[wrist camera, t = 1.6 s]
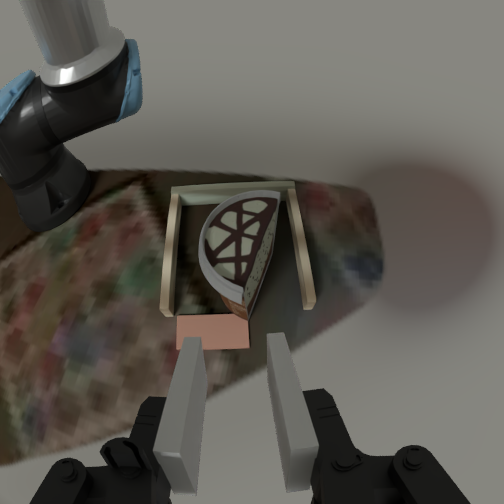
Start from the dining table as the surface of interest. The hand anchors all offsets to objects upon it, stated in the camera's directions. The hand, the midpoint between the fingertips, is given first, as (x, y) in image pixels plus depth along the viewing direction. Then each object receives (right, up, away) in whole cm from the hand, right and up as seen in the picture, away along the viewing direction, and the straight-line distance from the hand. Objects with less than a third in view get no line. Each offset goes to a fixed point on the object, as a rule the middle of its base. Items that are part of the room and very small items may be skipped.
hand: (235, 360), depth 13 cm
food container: (-1, +2, +22) cm, 22 cm away
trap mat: (-4, -4, +19) cm, 20 cm away
